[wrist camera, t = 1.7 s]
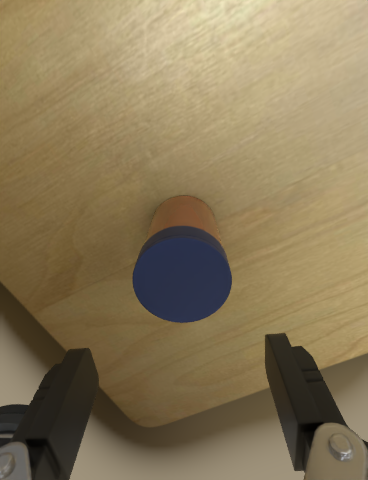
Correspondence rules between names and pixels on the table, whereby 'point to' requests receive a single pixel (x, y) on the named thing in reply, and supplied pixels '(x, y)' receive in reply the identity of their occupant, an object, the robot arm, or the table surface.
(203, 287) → the jar lid
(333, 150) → the table surface
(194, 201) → the jar
